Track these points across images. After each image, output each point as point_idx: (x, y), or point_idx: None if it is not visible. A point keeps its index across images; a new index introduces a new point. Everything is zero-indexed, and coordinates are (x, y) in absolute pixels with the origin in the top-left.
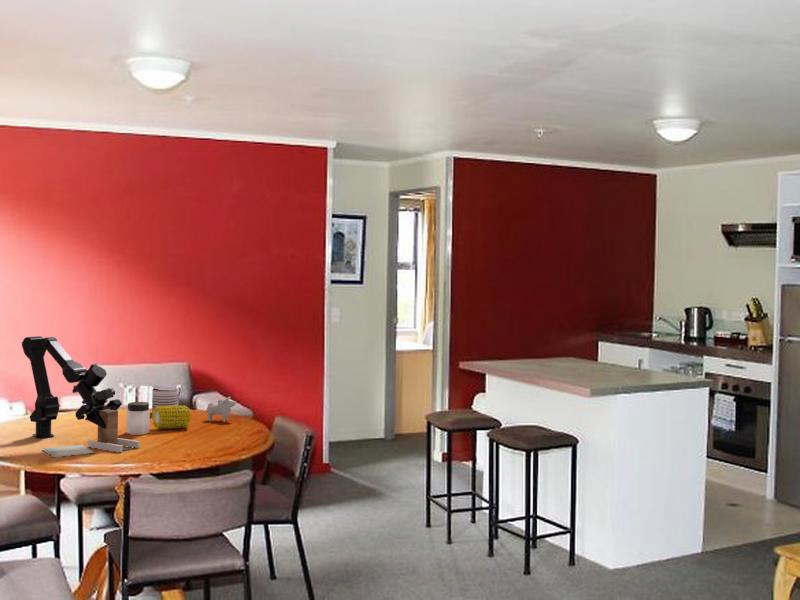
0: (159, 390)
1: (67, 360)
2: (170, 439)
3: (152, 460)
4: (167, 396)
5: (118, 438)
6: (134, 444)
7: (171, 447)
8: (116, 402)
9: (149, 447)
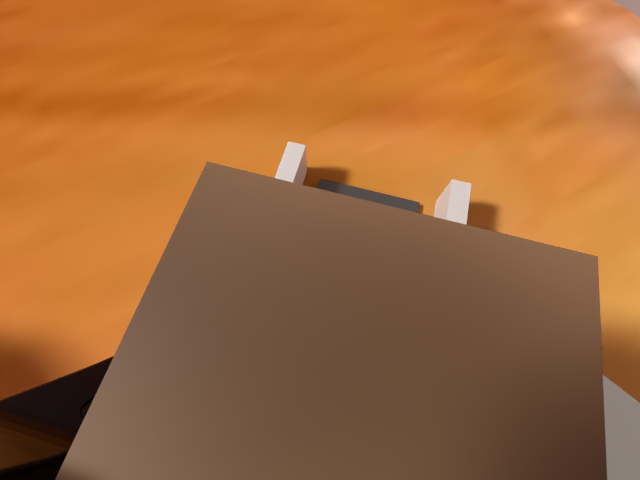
0: None
1: None
2: (21, 119)
3: (516, 18)
4: None
5: None
6: (297, 182)
7: (232, 46)
8: None
9: (261, 130)
